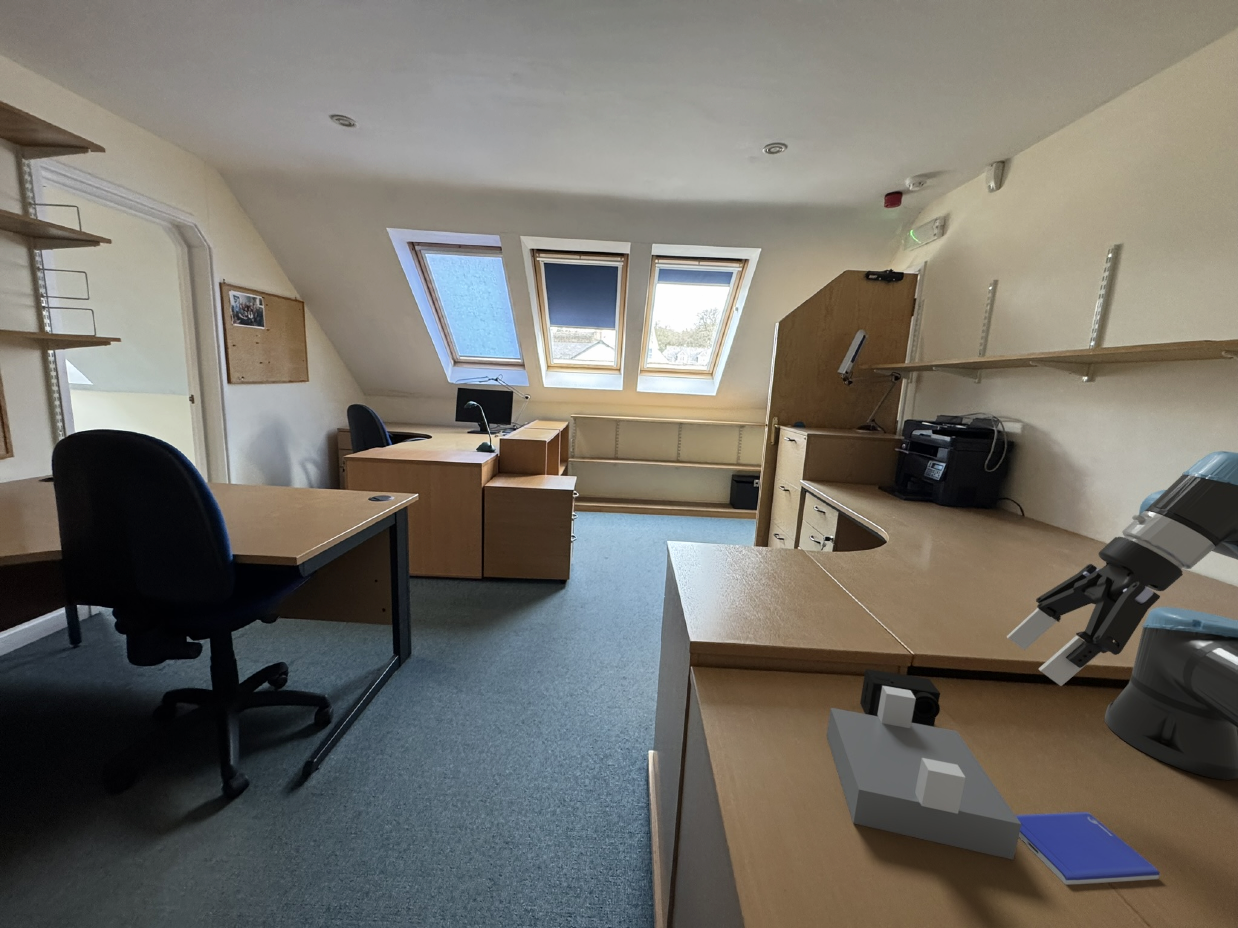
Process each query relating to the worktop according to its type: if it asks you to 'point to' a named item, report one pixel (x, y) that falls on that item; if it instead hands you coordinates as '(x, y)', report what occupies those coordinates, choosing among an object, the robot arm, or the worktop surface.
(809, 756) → the worktop surface
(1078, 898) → the worktop surface
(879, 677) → the digital camera
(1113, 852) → the hard drive
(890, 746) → the stand
